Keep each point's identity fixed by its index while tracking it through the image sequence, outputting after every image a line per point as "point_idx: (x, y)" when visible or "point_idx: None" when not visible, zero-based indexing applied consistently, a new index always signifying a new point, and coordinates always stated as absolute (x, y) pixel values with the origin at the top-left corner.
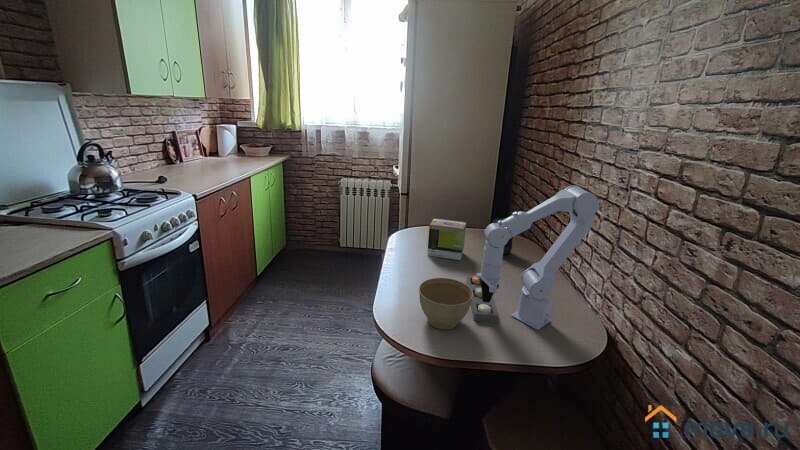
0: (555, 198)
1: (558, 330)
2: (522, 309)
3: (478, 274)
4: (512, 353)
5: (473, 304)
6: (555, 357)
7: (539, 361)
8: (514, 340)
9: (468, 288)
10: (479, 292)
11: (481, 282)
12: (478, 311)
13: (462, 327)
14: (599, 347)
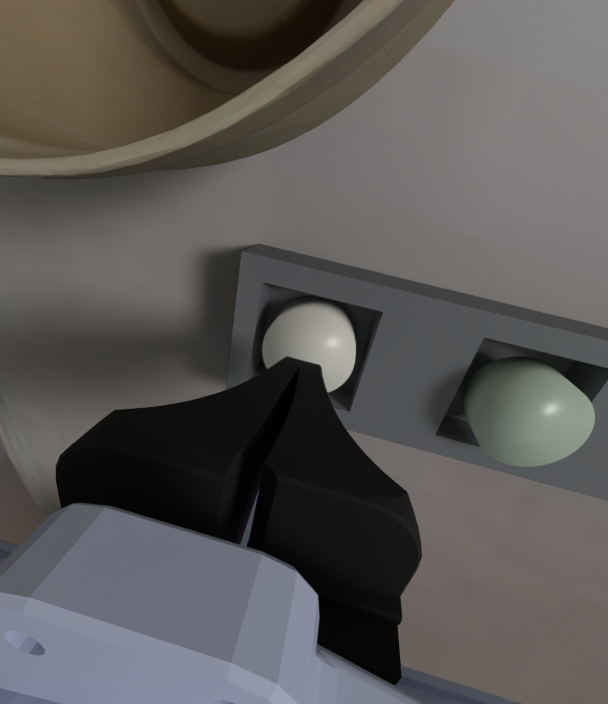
0: None
1: None
2: (243, 539)
3: (124, 678)
4: (16, 337)
5: (373, 288)
6: (46, 472)
7: (5, 414)
8: (109, 388)
9: (159, 138)
10: (505, 399)
11: (146, 474)
12: (307, 300)
13: None
14: None
